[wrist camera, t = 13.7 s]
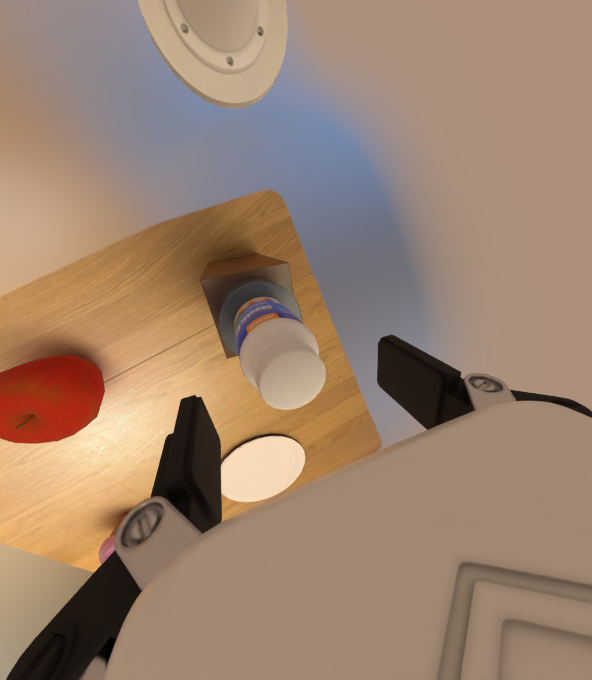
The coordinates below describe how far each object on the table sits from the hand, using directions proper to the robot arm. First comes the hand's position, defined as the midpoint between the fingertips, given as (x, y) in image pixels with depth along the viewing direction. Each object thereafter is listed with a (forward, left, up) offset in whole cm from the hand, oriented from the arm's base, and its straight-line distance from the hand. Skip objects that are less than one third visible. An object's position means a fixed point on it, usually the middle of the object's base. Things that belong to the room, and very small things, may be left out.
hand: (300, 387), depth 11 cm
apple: (+9, -31, -35) cm, 48 cm away
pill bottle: (0, 0, -11) cm, 11 cm away
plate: (+51, -7, -35) cm, 63 cm away
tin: (0, 0, -15) cm, 15 cm away
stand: (0, 0, -35) cm, 35 cm away
